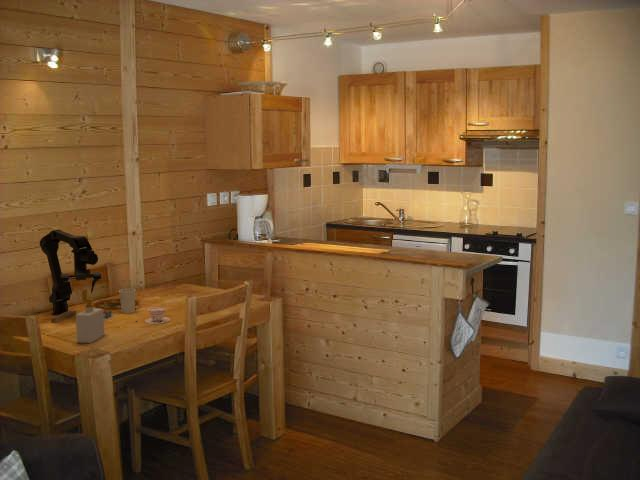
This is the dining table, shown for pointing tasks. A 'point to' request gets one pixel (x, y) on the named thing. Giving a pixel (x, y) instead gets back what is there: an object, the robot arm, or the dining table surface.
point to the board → (109, 317)
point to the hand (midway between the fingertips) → (81, 293)
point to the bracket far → (107, 314)
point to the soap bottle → (89, 322)
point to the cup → (127, 300)
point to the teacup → (157, 316)
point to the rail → (63, 316)
